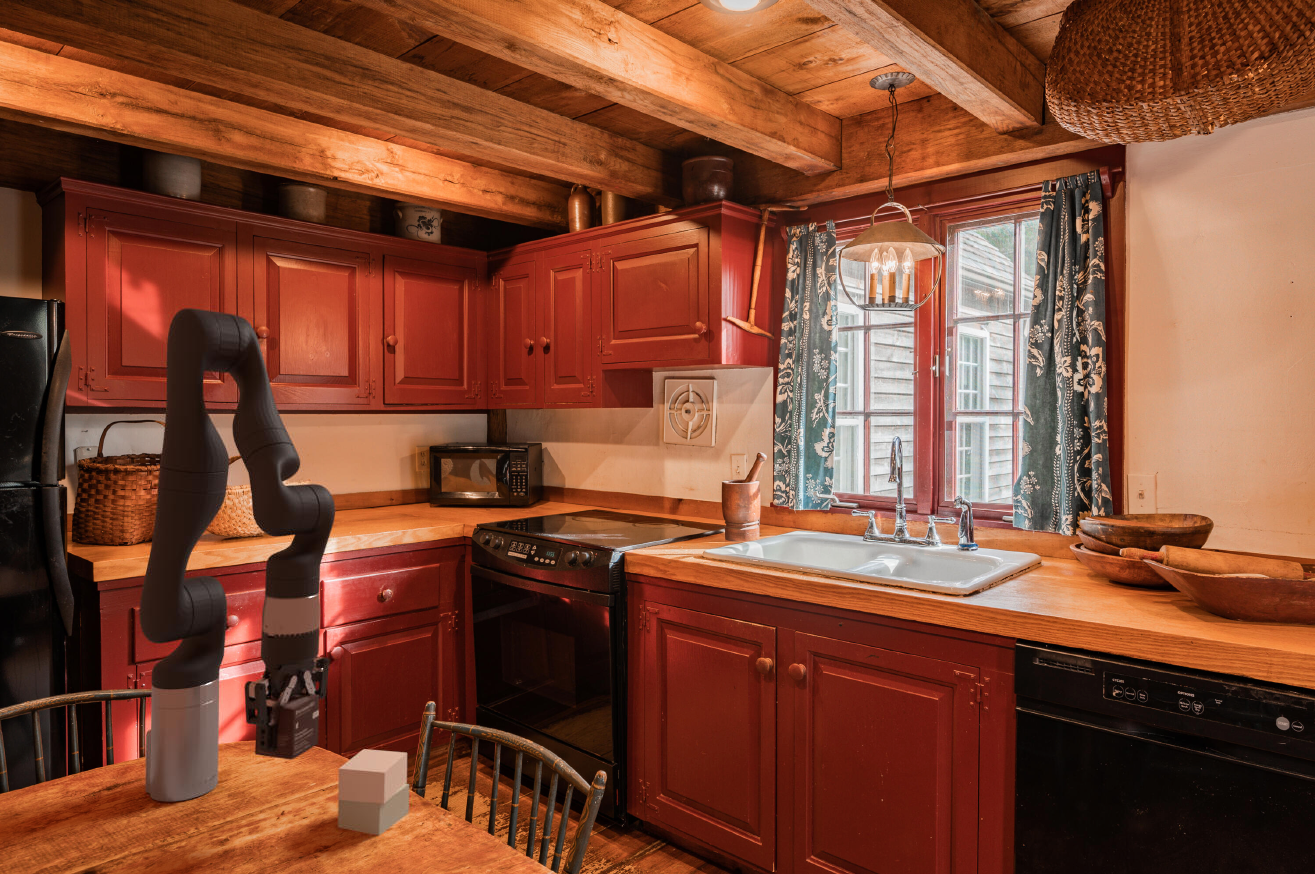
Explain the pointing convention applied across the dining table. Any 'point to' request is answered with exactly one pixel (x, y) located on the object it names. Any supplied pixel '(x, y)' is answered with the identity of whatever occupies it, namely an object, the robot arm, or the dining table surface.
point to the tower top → (372, 776)
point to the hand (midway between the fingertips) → (286, 740)
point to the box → (294, 727)
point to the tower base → (373, 813)
